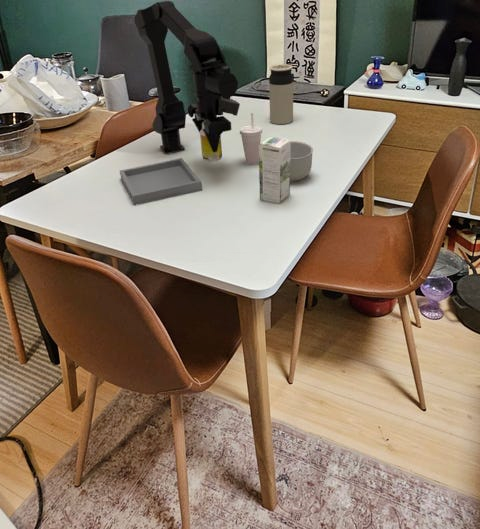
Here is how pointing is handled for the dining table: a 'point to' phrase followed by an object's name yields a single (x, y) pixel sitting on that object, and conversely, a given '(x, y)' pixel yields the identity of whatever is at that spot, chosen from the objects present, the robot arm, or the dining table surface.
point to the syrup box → (274, 169)
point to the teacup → (300, 160)
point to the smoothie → (251, 141)
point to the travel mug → (281, 94)
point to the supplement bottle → (209, 148)
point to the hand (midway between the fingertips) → (211, 148)
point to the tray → (160, 181)
